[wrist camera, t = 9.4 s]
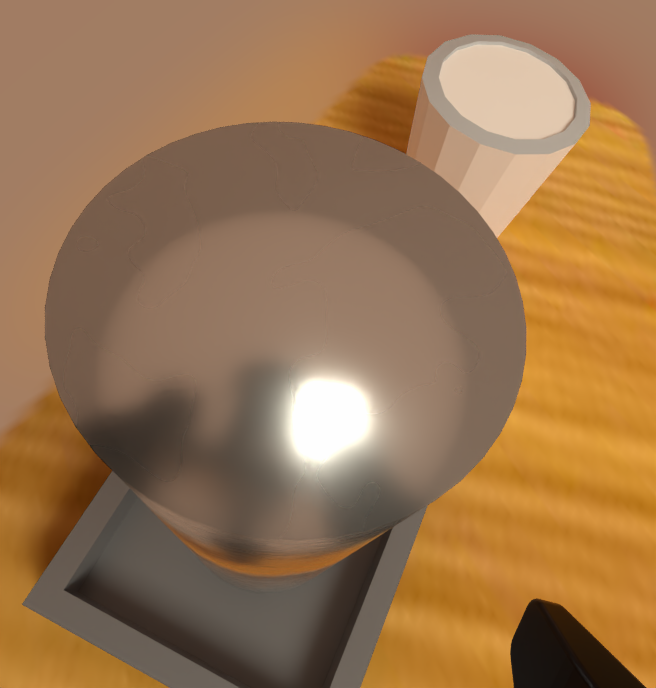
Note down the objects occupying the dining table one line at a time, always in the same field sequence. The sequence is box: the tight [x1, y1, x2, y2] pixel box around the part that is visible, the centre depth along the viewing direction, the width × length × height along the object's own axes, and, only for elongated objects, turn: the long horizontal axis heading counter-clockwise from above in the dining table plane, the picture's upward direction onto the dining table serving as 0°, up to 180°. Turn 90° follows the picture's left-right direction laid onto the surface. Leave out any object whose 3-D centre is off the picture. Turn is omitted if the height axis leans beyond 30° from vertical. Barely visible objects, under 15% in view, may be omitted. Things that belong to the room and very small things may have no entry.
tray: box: [22, 471, 427, 688], centre depth 19 cm, size 12×10×2 cm
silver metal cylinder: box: [45, 122, 526, 593], centre depth 13 cm, size 6×6×14 cm
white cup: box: [406, 35, 591, 238], centre depth 24 cm, size 7×7×7 cm
